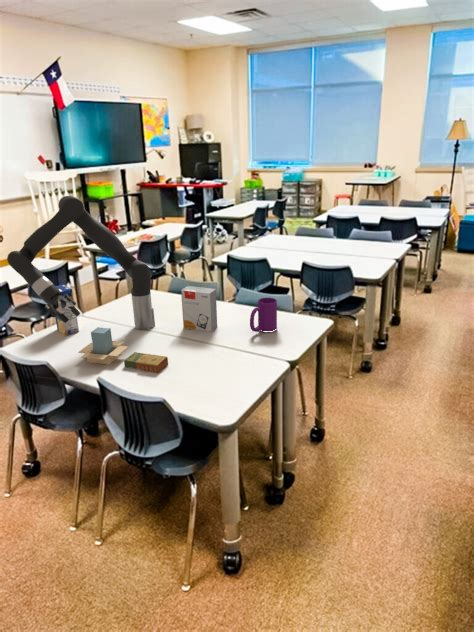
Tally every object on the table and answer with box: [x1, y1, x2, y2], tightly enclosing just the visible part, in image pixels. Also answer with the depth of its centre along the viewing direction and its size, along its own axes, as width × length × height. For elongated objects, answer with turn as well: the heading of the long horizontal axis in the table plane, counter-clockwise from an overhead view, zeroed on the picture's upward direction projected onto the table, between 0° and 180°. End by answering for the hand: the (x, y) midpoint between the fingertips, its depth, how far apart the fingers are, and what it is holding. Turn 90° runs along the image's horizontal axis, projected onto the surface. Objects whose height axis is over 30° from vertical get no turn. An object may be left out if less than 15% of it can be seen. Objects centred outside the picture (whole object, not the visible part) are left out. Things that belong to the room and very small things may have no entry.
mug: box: [249, 297, 278, 333], centre depth 223 cm, size 9×16×15 cm, turn 131°
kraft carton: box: [78, 340, 129, 365], centre depth 201 cm, size 18×18×5 cm
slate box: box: [90, 327, 113, 355], centre depth 199 cm, size 6×6×13 cm
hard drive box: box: [180, 285, 218, 333], centre depth 229 cm, size 16×8×20 cm, turn 68°
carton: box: [123, 351, 169, 374], centre depth 194 cm, size 8×16×4 cm, turn 69°
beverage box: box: [53, 284, 80, 336], centre depth 230 cm, size 7×11×22 cm, turn 39°
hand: (73, 318), depth 199 cm, fingers open, 8 cm apart
